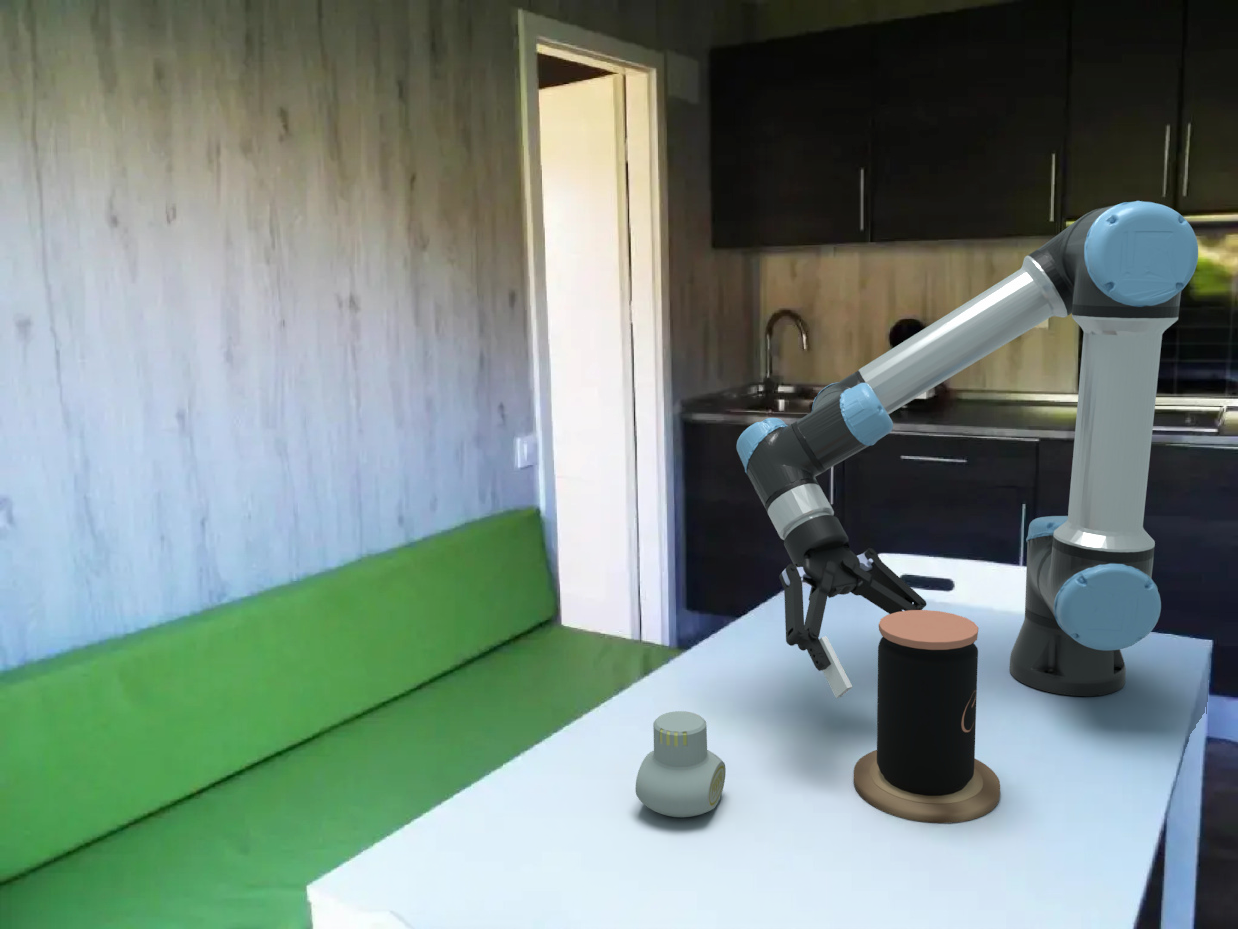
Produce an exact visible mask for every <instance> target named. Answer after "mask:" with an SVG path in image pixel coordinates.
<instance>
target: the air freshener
mask: <svg viewBox="0 0 1238 929" xmlns="http://www.w3.org/2000/svg"><path fill="white" fill-rule="evenodd" d="M652 726H653V728H652V729H653V750H652V751H650V752H649V753H647V754H646V755H645V757H644V758H643V760H642V762H641V764H640V766H639V768H638V771H637V775H636V780H635V795H636V797H637V799H638V800H639V801H640V802H641V803H642V804H643V805H645V806H646V807H647V808H648V809H650V810H652V811H653V812H656V813H658V814H661V815H664V816H667V817H673V818H690V817H696V816H697V817H698V816H700V815H704V814H705V813H708V812H710V811H713V809H715V808H716V806H717V805H718V803H719V802H720V799H721V797H722V793H723V790H724V787H725V782H726V764H725V762H724V761H723V760H722V758H720V757H719V756H718V755H717V754H715V753H714V752H712V751H711V750H709V749H708V735H707V734H708V733H707V730H708V729H707V720H705V719H704V718H703V717H702V716H701V715H700V714H697V713H695V712H691V711H684V710H681V711H680V710H678V711H669V712H666V713H662V714H661V715H659V716H658V717H657V718H655V720H654V721H653V724H652Z"/></svg>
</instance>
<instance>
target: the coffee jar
mask: <svg viewBox="0 0 1238 929" xmlns="http://www.w3.org/2000/svg"><path fill="white" fill-rule="evenodd" d="M878 631H879V634H880V635H881V638H880V641H879V643H878V647H877V698H876V699H877V705H876V706H877V709H876V710H877V711H876V712H877V713H876V714H877V715H876V716H877V717H876V723H877V724H876V750H877V764H878V767H879V769H880V772H881V773H882V774H883V776H884V778H885V779H886V780H887V781H888V782H889V783H890V784H891V785H893V786H895V787H897V788H899V789H901V790H903V791H906V792H910V793H913V794H919V795H926V796H942V795H948V794H953V793H956V792H958V791H960V790H962V789H963V788H964V787H965V786H966V785H967V784H968V782H969V781H970V780H971V779H972V777H973V775H974V761H975V759H976V758H975V757H976V755H975V754H976V722H977V697H978V696H977V693H978V692H977V690H978V663H979V662H978V661H979V658H978V657H979V650H978V647H977V646H976V644H975V642H976V641H977V640H978V635H979V626H978V625H977V624H976V623H975V622H974V621H972V620H971V619H969V618H967V617H964V616H962V615H959V614H955V613H951V612H946V611H939V610H929V609H922V610H909V611H904V610H902V611H901V612H896V613H892V614H889V613H888V614H886V615H885V616H883V617H882V618H880V620H879V623H878Z"/></svg>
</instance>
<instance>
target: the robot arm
mask: <svg viewBox="0 0 1238 929" xmlns="http://www.w3.org/2000/svg"><path fill="white" fill-rule="evenodd" d="M1198 260H1199V245H1198V239H1197V236H1196V233H1195V231H1194V229H1193V228H1192V226H1191V224H1190V223H1189V222H1188V220H1187V219H1185V217H1184V216H1183V215H1181V214H1180V213H1179V212H1178V211H1176V210H1174V209H1173V208H1171V207H1169V206H1166V205H1164V204H1160V203H1157V202H1156V203H1155V202H1152V201H1143V200H1141V201H1140V200H1136V201H1128V202H1127V201H1125V202H1124V201H1123V202H1121V203H1119V204H1115V205H1109V206H1108V205H1107V206H1103V207H1100V208H1096V209H1093V210H1091V211H1090V212H1087V213H1086V214H1083V215H1082V216H1081V217H1080V218H1078V219H1077V220H1075V221H1074V222H1072V223H1071V224H1069V226H1068V227H1066V228H1065V229H1064V230H1062V231H1061V232H1059V233H1058V234H1057V235H1056V236H1054V237H1053V238H1051V239H1050V240H1049V241H1047V242H1046V243H1045V244H1043V245H1041V246H1040V247H1039V248H1037V249H1036V250H1034V251H1032V252H1031V253H1029V254H1028V255H1026V256H1024V258H1023V262H1022V266H1021V268H1019V269H1018V270H1016V271H1015V272H1014V273H1011V274H1010V275H1009V276H1006V277H1005V278H1004V279H1002V280H1000V281H999V282H997V283H995V284H993V286H991V287H989V288H988V289H986V290H985V291H983V292H981V293H980V294H978V295H977V296H975V297H973V298H972V299H970V300H968V301H967V302H965V303H964V304H963V303H962V305H961V306H958V307H957V308H955V309H953V310H952V311H951V312H949V313H948V314H946V315H944V316H943V317H941V318H940V319H938V320H936V321H934V322H933V323H931V324H929V325H928V326H926V327H925V328H923V329H922V330H920V331H919V332H917V333H915V334H913V335H912V336H910V337H909V338H907V339H905V340H903V342H901V343H899V344H898V345H896V346H894V347H893V348H891V349H889V350H888V351H886V352H885V353H883V354H882V355H880V356H878V357H876V358H875V359H873V360H872V361H870V362H869V363H867V364H866V365H864V366H862V367H860V368H859V369H858V370H857V371H855V372H853V373H851V374H850V375H848V376H845V378H843V379H841V380H840V381H839V382H838V381H837V382H834V383H830V384H828V385H826V386H825V387H824V388H822V389H821V390H820V391H819V392H818V393H817V396H816V397H814V399H813V403H812V407H811V412H809V413H808V414H806V415H805V416H803V417H802V418H800V419H798V420H797V421H794V422H793V423H790V424H786V423H785V421H784V420H782V419H781V418H777V417H768V418H765V419H763V420H762V421H756V422H754V423H753V424H751V425H750V426H748V427H747V428H746V429H745V430H743V431H742V433H741V434H740V436H739V437H738V439H737V441H736V451H737V453H738V456H739V459H740V461H741V463H742V465H743V467H744V472H745V473H746V475H747V477H748V478H749V480H750V482H751V485H753V488H754V490H755V492H756V494H757V495H758V497H759V499H760V501H761V503H762V505H763V506H764V508H765V510H766V512H767V515H768V516H769V518H770V520H771V523H772V524H773V526H774V528H775V531H777V532H776V533H777V535H778V536H779V538H780V539H781V540H783V541H784V542H783V546H784V547H785V550H786V552H787V554H788V556H789V558H790V560H791V562H792V563H789V564H788V565H787V566H786V568H784V570H783V571H782V572H781V573H780V574H779V576H778V577H779V580H780V583H781V585H782V588H783V592H784V593H783V594H784V617H785V622H784V624H785V625H784V626H785V642H786V644H787V645H788V646H792V647H794V646H796V645H797V647H798V649H799V650H801V651H804V652H805V651H807V653H808V655H809V657H810V658H811V661H812V664H813V665H814V666H815V668H816V669H817V670H818V672H821V671H822V673H823V676H824V678H825V679H826V681H827V683H828V685H829V686H830V689H831V691H832V693H833V695H834V697H835V699H838V698H841V697H843V696H844V695H845V694H846V693H847V692H848V691H850V690H851V689H852V688H853V684H852V683H851V681H850V679H849V677H848V675H847V674H846V671H845V670H844V667H843V666H842V664H841V662H840V659H839V658H838V656H837V653H836V652H835V649H834V647H833V645H832V644H831V642H830V640H829V638H828V636H822V637H820V633H821V629H822V625H823V618H824V614H825V610H826V605H827V600H828V598H829V599H830V598H834V597H836V596H838V595H843V596H844V595H848V594H850V593H851V594H853V595H854V596H861V597H863V599H865V600H867V601H868V602H869V603H870V602H871V603H872V604H873V605H875V606H876V607H878V608H880V609H881V610H883V611H884V612H886V613H887V614H888V615H889V614H892V613H896V612H901V611H909V610H924V609H925V608H926V606H927V601H926V600H925V599H924V598H923V597H922V596H920V594H918V593H917V592H916V591H915V590H914V589H913V588H912V587H911V586H910V585H909V584H907V582H905V580H903V579H902V578H900V576H899V575H897V574H896V573H895V572H894V571H893V570H892V569H891V568H889V566H887V565H886V564H885V563H884V562H883V561H882V560H881V558H880V557H879V555H878V554H877V552H876V550H875V549H874V548H872V547H871V548H870V547H869V548H867V549H866V550H865V551H864V552H863V553H861V554H858V555H856V554H855V553H854V552H853V551H852V550H851V548H850V543H849V542H850V540H849V536H848V535H847V533H846V531H845V529H844V527H843V526H842V524H841V522H840V520H839V518H838V517H837V516H834V514H835V511H834V509H833V507H832V505H831V503H830V502H829V500H828V498H827V497H826V494H825V493H824V492H823V489H822V487H821V486H820V484H819V482H818V481H817V479H816V478H817V476H819V475H821V474H823V473H826V471H827V470H830V468H832V467H834V466H836V465H838V464H839V463H841V462H843V461H845V460H847V459H848V458H850V457H852V456H854V455H855V454H858V453H859V452H861V451H862V450H864V449H866V448H868V447H869V446H874V445H875V444H876V443H877V442H878V441H879V440H881V439H882V438H884V437H885V436H886V435H889V434H891V432H892V430H893V429H894V421H893V420H892V418H891V417H890V414H892V413H893V412H894V411H896V410H898V409H900V408H901V407H903V406H905V405H906V404H909V403H911V401H914V400H915V399H916V398H918V397H920V396H921V395H924V394H925V393H927V392H929V391H930V390H931V389H933V388H935V387H937V386H938V385H940V384H942V383H943V382H944V381H946V380H948V379H950V378H951V377H953V376H955V375H957V374H958V373H960V372H962V371H963V370H965V369H966V368H968V367H970V366H971V365H973V364H974V363H976V362H978V361H980V360H981V359H984V358H985V357H986V356H988V355H990V354H991V353H994V352H995V351H997V350H998V349H1000V348H1001V347H1003V346H1005V345H1006V344H1008V343H1010V342H1011V341H1013V340H1015V339H1016V338H1018V337H1020V336H1022V335H1023V334H1025V333H1027V332H1028V331H1029V330H1031V329H1033V328H1036V326H1039V325H1040V324H1042V323H1043V322H1045V321H1046V320H1048V319H1050V318H1051V317H1058V318H1059V317H1060V318H1066V317H1068V316H1070V315H1071V319H1073V320H1074V321H1075V323H1076V324H1078V326H1080V328H1081V329H1082V331H1083V337H1082V348H1081V349H1082V350H1081V360H1080V370H1079V371H1080V373H1079V381H1078V382H1079V385H1078V393H1077V394H1078V396H1077V397H1078V398H1077V407H1076V418H1075V419H1076V420H1075V429H1074V441H1073V453H1072V454H1073V455H1072V456H1073V457H1072V465H1071V474H1070V477H1071V479H1070V489H1069V498H1068V499H1069V500H1068V512H1067V514H1068V515H1051V516H1041V517H1037V518H1035V519H1032V521H1030V523H1029V526H1028V532H1027V537H1026V539H1025V540H1026V543H1027V550H1026V551H1027V552H1026V572H1025V573H1026V574H1025V580H1026V581H1025V602H1024V604H1025V605H1024V619H1023V623H1022V625H1021V628H1020V629H1019V633H1018V635H1017V637H1016V640H1015V643H1014V645H1013V647H1012V650H1011V651H1010V657H1009V672H1010V675H1012V677H1013V678H1014V679H1016V680H1017V681H1018V682H1020V683H1021V684H1024V685H1026V686H1028V687H1030V688H1032V689H1033V688H1034V689H1036V690H1039V691H1040V690H1041V691H1044V692H1047V693H1052V694H1058V695H1064V696H1071V697H1072V696H1073V697H1074V696H1075V697H1094V696H1103V695H1109V694H1112V693H1116V692H1118V691H1119V690H1122V689H1123V687H1124V686H1125V685H1126V671H1127V670H1126V663H1125V660H1124V657H1123V653H1122V649H1126V648H1129V647H1132V646H1135V644H1137V643H1138V642H1140V641H1141V640H1143V639H1144V638H1146V637H1148V635H1150V633H1151V632H1152V631H1153V630H1154V628H1155V626H1156V625H1157V623H1158V621H1159V619H1160V616H1161V610H1162V601H1161V600H1162V599H1161V595H1160V592H1159V591H1158V590H1159V589H1158V588H1159V587H1158V586H1157V584H1156V583H1155V582H1154V580H1153V579H1152V575H1153V567H1154V556H1155V546H1156V545H1155V544H1156V543H1155V542H1156V540H1154V539H1153V538H1152V537H1151V535H1149V534H1148V532H1147V531H1146V530H1145V528H1144V520H1145V519H1144V517H1145V508H1146V507H1145V506H1146V497H1147V487H1148V479H1149V477H1148V476H1149V468H1150V458H1151V448H1152V438H1153V428H1154V419H1155V418H1154V417H1155V411H1156V410H1155V408H1156V400H1157V392H1158V391H1157V390H1158V380H1159V379H1158V378H1159V370H1160V359H1161V348H1162V342H1163V341H1162V340H1163V334H1164V333H1165V331H1167V329H1169V328H1170V327H1171V326H1172V325H1173V324H1175V323H1176V322H1177V321H1179V314H1180V306H1181V305H1180V303H1181V297H1182V296H1181V295H1182V291H1183V290H1184V288H1186V286H1187V285H1188V284H1189V282H1190V281H1191V279H1192V277H1193V276H1194V273H1195V271H1196V269H1197V265H1198ZM859 580H860V582H859ZM803 582H804V583H807V584H808V585H809V586H810V587H811V588H810V591H809V595H808V601H809V603H808V606H807V610H806V616H805V615H804V590H803ZM819 637H820V638H819Z"/></svg>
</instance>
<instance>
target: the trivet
mask: <svg viewBox="0 0 1238 929" xmlns="http://www.w3.org/2000/svg"><path fill="white" fill-rule="evenodd" d="M853 786H854V788H855V791H856V793H857V794H858V796H860V797H861V798H862V799H863V801H865V802H867V803H868V804H869V805H871V806H872V807H874V808H876V809H878V810H879V811H881V812H884V813H886V814H889V815H892V816H895V817H898V818H901V819H905V820H910V821H915V822H921V823H932V824H953V823H963V822H967V821H972V820H975V819H978V818H981V817H984V816H985V815H987V814H989V813H990V812H992V811H993V810H994V809H995V808H996V807H997V806H998V804H999V801H1000V798H1001V783H1000V779H999V777H998V775H997V774H996V773H995V772H994V770H992V768H990V767H989V766H988V765H987V764H985V763H984V762H982V761H981V760H979V759H977V758H975V761H974V775H973V777H972V779H971V780H970V781H969V782H968V784H967V785H966V786H965V787H964V788H963V789H962V790H960V791H958V792H956V793H953V794H948V795H942V796H926V795H919V794H913V793H910V792H906V791H903V790H901V789H899V788H897V787H895V786H893V785H891V784H890V783H889V782H888V781H887V780H886V779H885V778H884V776H883V774H882V773H881V772H880V769H879V767H878V764H877V749H875V750H872V751H871V752H868V753H866V754H864V755H863V756H861V757H860V758H859V759H858V760H857V762H856V763H855V765H854V767H853Z"/></svg>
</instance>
